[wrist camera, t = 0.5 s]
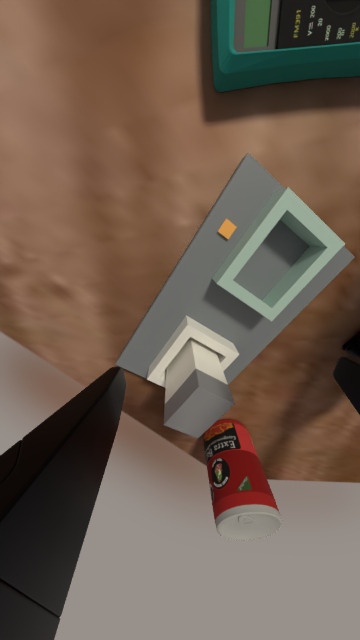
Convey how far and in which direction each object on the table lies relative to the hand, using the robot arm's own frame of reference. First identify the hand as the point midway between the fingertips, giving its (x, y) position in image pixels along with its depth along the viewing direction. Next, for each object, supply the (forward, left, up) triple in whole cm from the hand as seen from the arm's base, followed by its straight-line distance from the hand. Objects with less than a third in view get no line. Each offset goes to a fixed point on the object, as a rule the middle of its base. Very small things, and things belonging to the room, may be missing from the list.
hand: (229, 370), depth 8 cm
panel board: (-4, +1, -14) cm, 14 cm away
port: (-4, -6, -12) cm, 14 cm away
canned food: (-19, +18, -14) cm, 30 cm away
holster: (-4, +7, -12) cm, 14 cm away
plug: (-4, +7, -12) cm, 14 cm away
